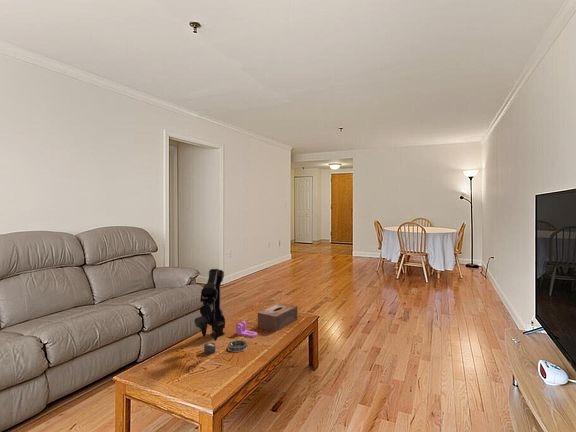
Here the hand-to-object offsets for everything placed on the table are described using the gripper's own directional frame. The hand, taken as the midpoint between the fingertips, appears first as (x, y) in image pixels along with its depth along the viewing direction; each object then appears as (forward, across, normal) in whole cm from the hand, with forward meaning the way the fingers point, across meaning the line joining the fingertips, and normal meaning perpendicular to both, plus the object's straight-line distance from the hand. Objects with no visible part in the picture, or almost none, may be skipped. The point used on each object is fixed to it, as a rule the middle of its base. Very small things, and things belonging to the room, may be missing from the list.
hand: (209, 338), depth 180 cm
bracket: (+8, -1, +30) cm, 31 cm away
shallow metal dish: (+7, +8, +13) cm, 17 cm away
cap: (+7, 0, 0) cm, 7 cm away
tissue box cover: (+8, +2, +56) cm, 56 cm away
